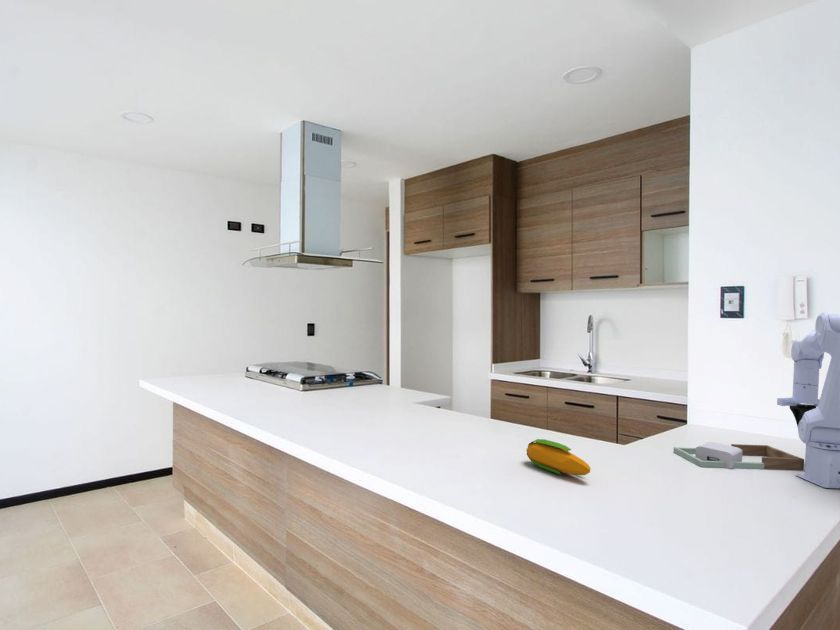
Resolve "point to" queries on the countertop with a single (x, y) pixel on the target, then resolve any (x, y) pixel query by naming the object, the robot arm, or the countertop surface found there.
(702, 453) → the charger
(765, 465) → the brown wooden u-shaped frame
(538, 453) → the corn
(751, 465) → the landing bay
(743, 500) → the countertop surface
